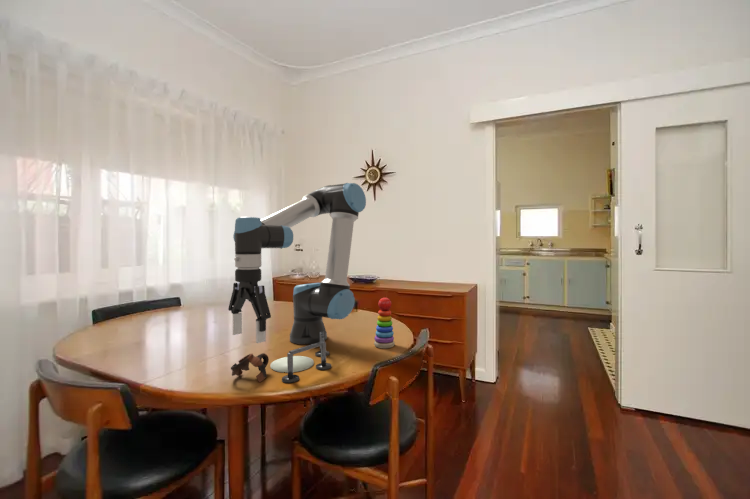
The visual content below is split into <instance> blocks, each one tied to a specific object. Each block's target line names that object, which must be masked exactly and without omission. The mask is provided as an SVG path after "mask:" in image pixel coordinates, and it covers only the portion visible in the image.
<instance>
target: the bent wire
mask: <svg viewBox="0 0 750 499" xmlns="http://www.w3.org/2000/svg"><path fill="white" fill-rule="evenodd" d="M318 347H319V350H317V351H316V352H315V353H314V354H315V355H314V356H315V357H318V358H319V357H320V359H321V360H320V362H321V363H317V364H316V365H315V369H316V370H317V371H326V370H327V371H328V370H331V368H332V363H329V362H327V357H328V356H329V355H330V351H328V350H327V342H326V340H325V339H324V332H323V331H321V332H320V342H318V343H314V344H307V345H305V346H302V347H299V348H295V349H292V350H288V352H287V356H286V357H287V364H288V373H287V375H284V376H282V377H281V382H282V383H284V384H292V383H293V384H294V383H297V382H298V381H299V380H300V376H299V375H298V374H294V372H293V356H294V355H296V354H300V353H302V352H306V351H309V350H312V349H313V350H314V349H315V348H318Z"/></svg>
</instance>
